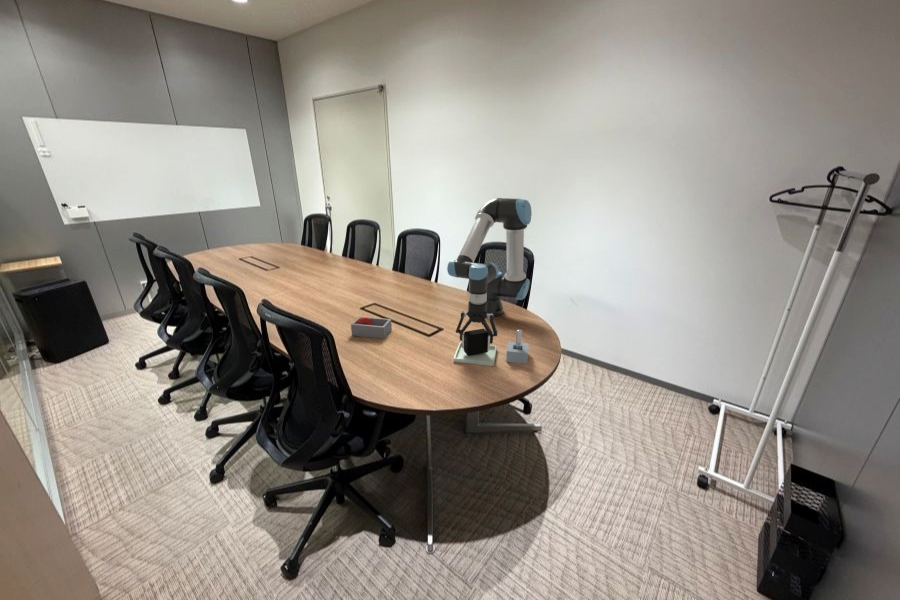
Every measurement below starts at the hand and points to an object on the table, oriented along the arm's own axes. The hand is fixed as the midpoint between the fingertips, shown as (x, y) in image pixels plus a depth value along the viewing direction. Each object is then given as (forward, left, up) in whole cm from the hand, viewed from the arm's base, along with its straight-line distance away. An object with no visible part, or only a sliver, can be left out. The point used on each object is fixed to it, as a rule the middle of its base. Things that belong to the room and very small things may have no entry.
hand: (476, 348), depth 160 cm
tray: (0, 0, -4) cm, 4 cm away
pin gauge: (-2, +18, -3) cm, 18 cm away
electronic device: (0, 0, -2) cm, 2 cm away
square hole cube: (-2, +18, -4) cm, 18 cm away
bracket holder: (-12, -54, -4) cm, 55 cm away
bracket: (-13, -55, -4) cm, 57 cm away
